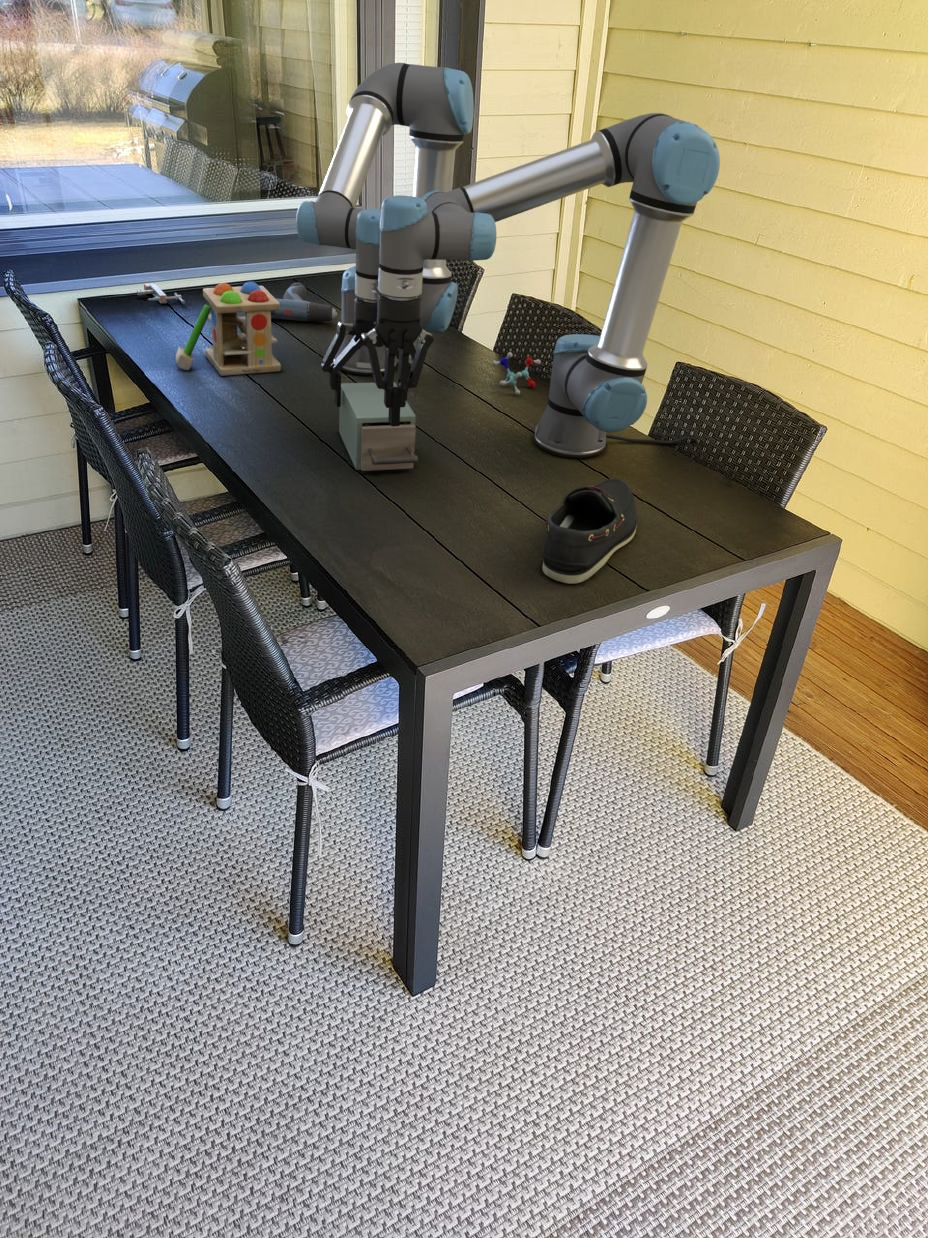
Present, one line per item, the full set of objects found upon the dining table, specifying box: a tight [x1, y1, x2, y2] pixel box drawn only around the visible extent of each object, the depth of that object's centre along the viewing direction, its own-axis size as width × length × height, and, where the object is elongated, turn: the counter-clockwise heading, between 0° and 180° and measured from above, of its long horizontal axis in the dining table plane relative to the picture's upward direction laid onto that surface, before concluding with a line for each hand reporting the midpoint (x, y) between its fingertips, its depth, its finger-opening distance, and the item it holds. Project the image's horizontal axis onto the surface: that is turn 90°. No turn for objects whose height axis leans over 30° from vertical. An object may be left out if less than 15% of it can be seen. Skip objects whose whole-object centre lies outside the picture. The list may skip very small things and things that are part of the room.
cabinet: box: [338, 381, 417, 471], centre depth 196 cm, size 18×11×11 cm, turn 17°
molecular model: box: [491, 351, 542, 396], centre depth 231 cm, size 12×10×10 cm
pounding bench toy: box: [174, 281, 282, 377], centre depth 225 cm, size 23×14×18 cm, turn 116°
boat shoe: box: [541, 478, 638, 585], centre depth 172 cm, size 13×33×10 cm, turn 147°
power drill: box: [271, 282, 338, 322], centre depth 265 cm, size 5×19×20 cm
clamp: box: [136, 283, 186, 305], centre depth 265 cm, size 15×2×10 cm
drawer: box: [360, 421, 419, 472], centre depth 191 cm, size 22×10×9 cm, turn 17°
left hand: (370, 403), depth 199 cm, fingers open, 13 cm apart
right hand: (393, 423), depth 181 cm, fingers closed
